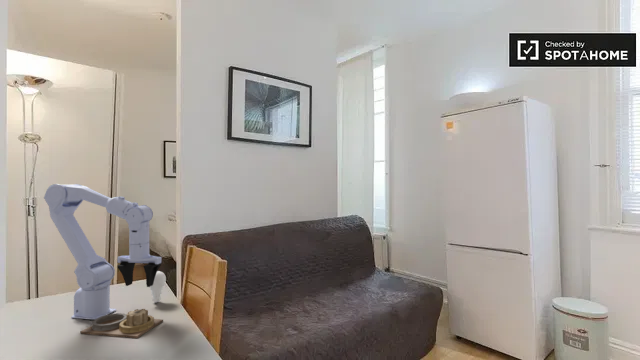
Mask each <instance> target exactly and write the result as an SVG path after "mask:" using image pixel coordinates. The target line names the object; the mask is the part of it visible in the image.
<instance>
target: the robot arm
mask: <svg viewBox="0 0 640 360" xmlns="http://www.w3.org/2000/svg"><path fill="white" fill-rule="evenodd" d="M43 199H44V201H45V203H46V205H47V206H48V209H49V210H48V211H49V216H50V219H51V220H52V223H53V224H54V226H55V228H57V229H56V230H57V231H58V233H59V235H60V236H61V238H62V239H63V241H64V243H65V245H66V246H67V248H68V249H69V252H70V253H71V255H72V256H73V258H74V260H75V262H76V263H77V266H76V267H75V269H74V271H73V272H74V274H75V277H76V282H77V283H76V284H77V285H78V287H79V288H78V289H77V290H76V291H75V292H74V296H73V315H71V317H70V318H71V319H84V320H93V321H94V320H95V319H97V318H99V317H101V316H105V315H109V314H113V313H114V312H116V311H117V308H111V307H110V304H111V303H110V302H111V301H110V300H111V296H110V295H111V290H110V289H111V288H110V287H111V282H112V279H113V278H114V276H115V275H116V274H115V273H116V270H115V267H114V266H113V265H112V264H111V263H109V262H108V261H107V260H106V258H105V257H103V256H100V255H98V254H97V253H96V251H95V249H94V246H92V244H91V243H90V240H89V239H88V237H87V236H86V234H85V232H84V231H83V229H82V227H81V225H80V223H78V220H77V219H76V217H75V215H74V213H75V212H76V210H77V209H78V208H79V207H80V205H82V203H83V201H86V202H88V203H91V204H94V205H97V206H100V207H103V208H106V209H105V210H106V212H107V213H108V214H110V215H112V216H116V217H118V218H121V219H123V220H125V221H126V223H127V224H128V229H129V231H128V235H129V237H128V239H129V241H128V242H129V243H128V245H129V246H128V248H129V250H128V251H129V252H128V254H129V255H120V256H119V255H118V256H117V259H116V260H117V261H116V262H117V263H119V264H117V269H118V270H119V271H120V273H121V275H122V278H123V281H124V285H125V287H128V286H131V285H133V282H134V281H133V280H134V270H135V265H136V264H146V265H143V269H144V273H145V282H146V284H145V285H146V288H149V287H150V286H152V285H153V283H154V279H155V276H156V273H157V271H159V269H160V267H161V265H162V256H156V255H151V254H150V221H151V220H152V219H153V216H154V212H153V209H152V208H151V207H150V206H148V205H147V204H143V205H139V203H138V202H136V201H135V202H133V201H129V200H127V199H126V198H125V196H115V197H110V196H107V195H105V194H103V193H100V192H98V191H96V190H94V189H92V188H90V187H89V186H86V185H82V184H79V183H73V184H69V183H68V184H65V183H64V184H59V183H54V184H53V183H52V184H51V185H49V186H48V187H47V189H46V191H45V194H44V196H43Z"/></svg>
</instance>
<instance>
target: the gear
mask: <svg viewBox="0 0 640 360" xmlns="http://www.w3.org/2000/svg"><path fill="white" fill-rule="evenodd" d="M125 314H126V326H138V325H142V324H145V323H147V322H148V315H149V309H146V308H140V309H138V308H137V309H134V310H130V311H128V312H127V313H125Z"/></svg>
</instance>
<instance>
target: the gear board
mask: <svg viewBox="0 0 640 360" xmlns="http://www.w3.org/2000/svg"><path fill="white" fill-rule="evenodd" d="M126 314H127V313H121V312H120V313H119V312H117V313H110V314H108V315H105V316H101V317H99V318H97V319H95V320H94V319H93V321H92V322H91V325H90V326H89V327H86V328H85V329H82V330H81V331H80V334H81V335H93V336H105V337H116V338H117V337H118V338H129V339H131V338H132V339H139V338H140V337H141V336H143V335H144V334H146V333H147V332H150V331H151V330H153V329H154V328H155V327H157V326H159V325H160V324H162V323H164V319H160V318H155V317H154V316H153V315H150V314H148V322H147V323H145V324H142V325H138V326H126Z"/></svg>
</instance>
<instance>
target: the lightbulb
mask: <svg viewBox="0 0 640 360" xmlns="http://www.w3.org/2000/svg"><path fill="white" fill-rule="evenodd" d="M166 281H167V277H166V275H165V273H164V272H163V271H160V270H158V271H157V273H156V276H155V279H154V283H153V285H152V286H150V287H148V288H149V290H150V291H151V297H152V298H151V299H152V302H154V303H158V302H159V301H160V300H161V299H162V298H161V295H162V293H163V287H164V286H165V283H166Z"/></svg>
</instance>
